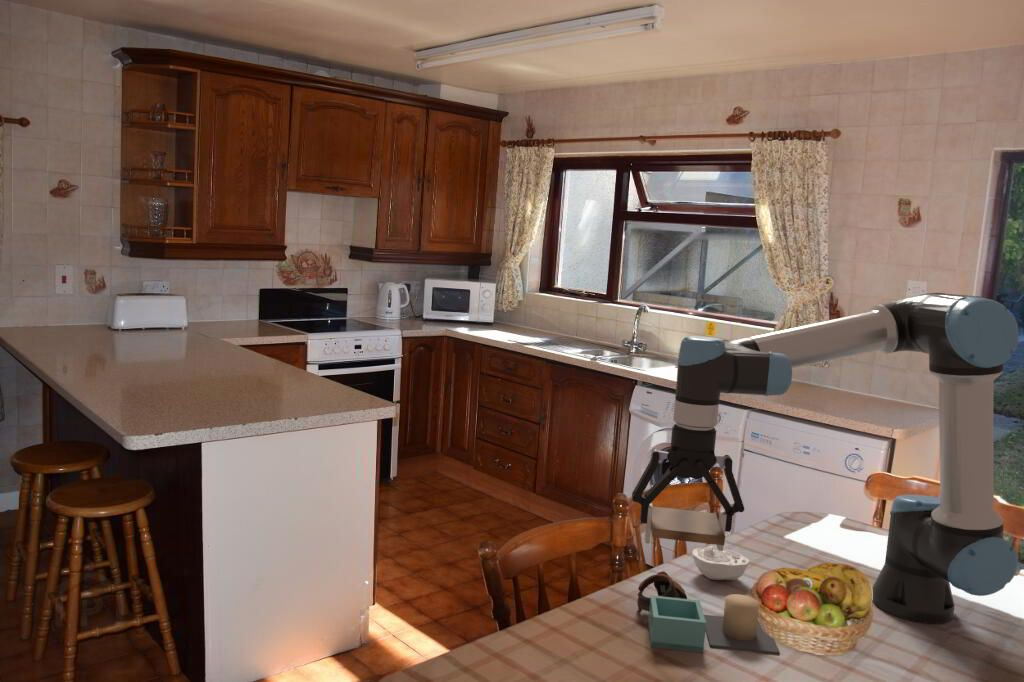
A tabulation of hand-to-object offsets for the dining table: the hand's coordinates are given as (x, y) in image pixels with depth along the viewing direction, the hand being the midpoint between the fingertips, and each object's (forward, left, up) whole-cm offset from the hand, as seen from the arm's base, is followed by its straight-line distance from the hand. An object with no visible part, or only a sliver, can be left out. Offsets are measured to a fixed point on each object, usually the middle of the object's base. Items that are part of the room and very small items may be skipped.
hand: (683, 544), depth 144 cm
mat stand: (-12, -4, -17) cm, 21 cm away
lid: (0, 0, +3) cm, 3 cm away
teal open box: (0, 0, -17) cm, 17 cm away
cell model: (-12, -30, -18) cm, 37 cm away
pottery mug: (+1, -11, -18) cm, 21 cm away
